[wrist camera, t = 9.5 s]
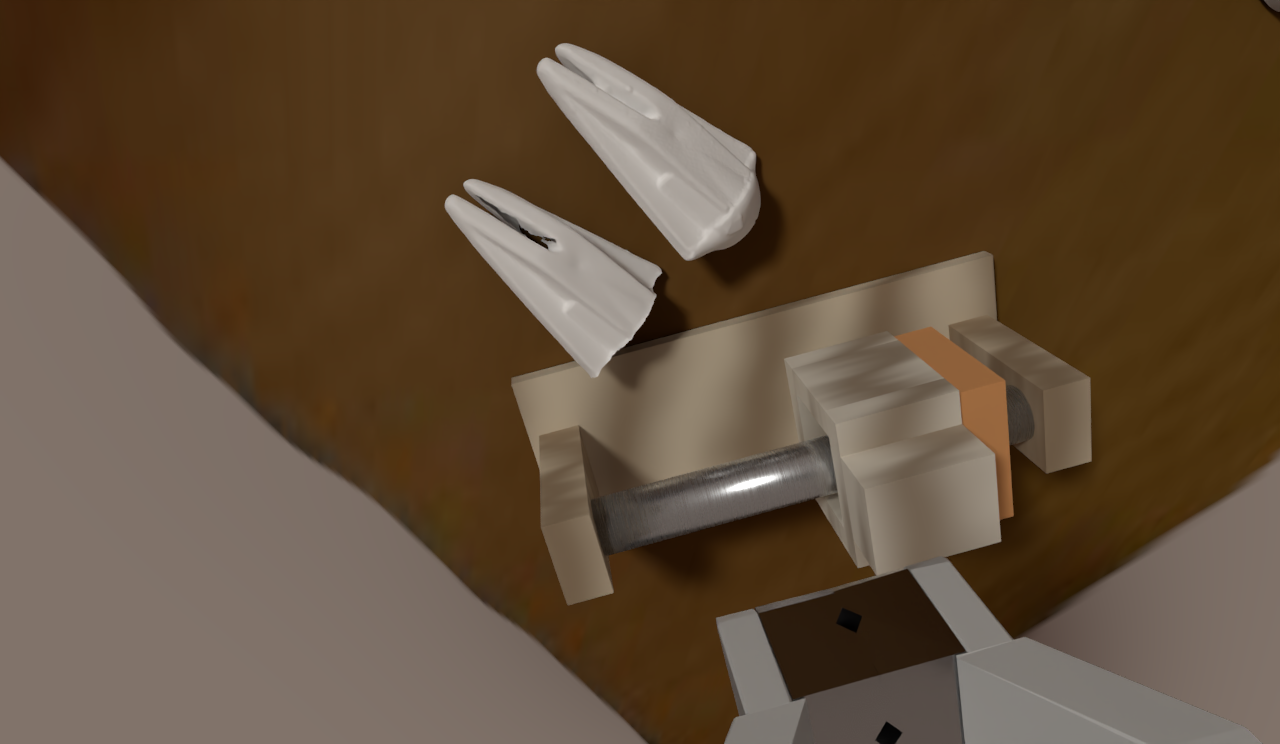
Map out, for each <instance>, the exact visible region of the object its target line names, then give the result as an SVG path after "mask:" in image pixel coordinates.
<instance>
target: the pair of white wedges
mask: <svg viewBox="0 0 1280 744" xmlns="http://www.w3.org/2000/svg"><path fill="white" fill-rule="evenodd" d="M555 53H556V55H557V57H558V59H559V60H560V62H561V63H562V64H563V65H564V66H565V67H564V66H562V65H561V64H559V63H557V62H555V61H553V60H552V59H550V58H544V59H542V60H541V61H540V62H539V64H538V66H537V74H538V77H539V78H540V80H541V82H542V83H543V85H544V87H545V88H546V90H547V92H548V93H549V95H550V96H551V97H552V98H553V100H554V101H555V102H556V104H557V105H558V106H559V108H560V109H561V110H562V112H563V113H564V114H565V116H566V117H567V118H568V119H569V120H570V122H571V123H572V124H573V125H574V127H575V128H576V129H577V131H578V132H579V133H580V134H581V135H582V136H583V138H584V139H585V140H586V141H587V142H588V144H589V145H590V146H591V147H592V148H593V150H594V151H595V152H596V153H597V155H598V156H599V157H600V158H601V160H602V161H603V162H604V163H605V165H606V166H607V167H608V168H609V170H610V171H611V172H612V173H613V174H614V176H615V177H616V178H617V179H618V181H619V182H620V183H621V184H622V186H623V187H624V188H625V189H626V190H627V192H628V193H629V194H630V195H631V197H632V198H633V199H634V200H635V201H636V203H637V204H638V205H639V206H640V208H641V209H642V210H643V211H644V212H645V213H646V215H647V216H648V217H649V218H650V219H651V221H652V222H653V223H654V224H655V225H656V226H657V228H658V229H659V230H660V231H661V233H662V234H663V235H664V236H665V237H666V238H667V240H668V241H669V242H670V243H671V245H672V246H673V247H674V248H675V249H676V250H677V252H678V253H679V254H680V255H681V256H682V257H683V258H684V259H685V260H688V261H691V260H695V259H697V258H699V257H701V256H703V255H705V254H708V253H710V252H712V251H715V250H722V249H726V248H729V247H731V246H733V245H735V244H736V243H738V242H739V241H740V240H741V239H742V238H744V237H745V236H746V235H747V234H748V232H749V231H750V230H751V228H752V227H753V225H754V224H755V220H756V219H757V218H758V215H759V211H760V207H761V197H760V189H759V184H758V181H757V178H756V173H755V166H756V153H755V152H754V151H753V150H752V149H751V148H750V147H749V146H747V145H746V144H744V143H742V142H740V141H738V140H736V139H734V138H733V137H731V136H729V135H728V134H726V133H724V132H723V131H721V130H720V129H718V128H716V127H714V126H713V125H711V124H709V123H708V122H706V121H705V120H703V119H702V118H700V117H698V116H697V115H695V114H693V113H692V112H690V111H688V110H686V109H685V108H683V107H682V106H680V105H678V104H677V103H676V102H675V101H674V100H672V99H671V98H669V97H668V96H667V95H665V94H664V93H663V92H661V91H659V90H658V89H657V88H655V87H653V86H652V85H650V84H648V83H647V82H645V81H644V80H642V79H640V78H639V77H637V76H635V75H634V74H632V73H631V72H629V71H627V70H625V69H624V68H622V67H620V66H618V65H617V64H615V63H613V62H611V61H609V60H608V59H606V58H604V57H602V56H600V55H598V54H596V53H593V52H591V51H588V50H585V49H583V48H581V47H578V46H575V45H572V44H568V43H563V44H560V45H558V46H557V47H556V48H555ZM463 185H464V188H465V190H466V191H467V192H468V194H469V195H470V196H471V197H473V198H474V199H475V200H476V201H477V202H479V203H480V204H481V205H482V206H484V207H485V208H486V209H487V210H488V211H490V212H491V213H492V214H493V215H495V216H496V217H497V218H498V219H500V220H501V221H502V222H501V221H500V220H498V219H496V218H495V217H493V216H492V215H490V214H488V213H487V212H485V211H483V210H481V209H480V208H478V207H476V206H475V205H473V204H471V203H469V202H468V201H466V200H464V199H462V198H460V197H458V196H456V195H453V194H452V195H450V196H449V197H448V198H447V199H446V202H445V209H446V211H447V212H448V214H449V215H450V216H451V218H452V219H453V221H454V222H455V224H456V225H457V226H458V228H459V229H460V230H461V231H462V232H463V233H464V234H465V236H466V237H467V238H468V240H469V241H470V242H471V244H472V245H473V246H474V247H475V248H476V250H477V251H478V252H479V253H480V254H481V256H482V257H483V258H484V259H485V260H486V261H487V262H488V264H489V265H490V266H491V267H492V268H493V269H494V270H495V271H496V273H497V274H498V275H499V276H500V277H501V278H502V279H503V281H504V282H505V283H506V284H507V285H508V286H509V287H510V289H511V290H512V291H513V292H514V293H515V294H516V295H517V297H518V298H519V299H520V300H521V301H522V302H523V303H524V305H525V306H526V307H527V308H528V309H529V310H530V311H531V312H532V313H533V315H534V316H535V317H536V318H537V319H538V320H539V321H540V322H541V323H542V324H543V326H544V327H545V328H546V329H547V330H548V331H549V332H550V333H551V334H552V335H553V337H554V338H555V339H556V340H557V341H558V342H559V343H560V344H561V345H562V346H563V347H564V348H565V350H566V351H567V352H568V353H569V354H570V355H571V356H572V357H573V358H574V360H575V361H576V362H577V363H578V364H579V365H580V366H581V367H582V368H583V369H584V370H585V371H586V372H587V373H588V374H589V375H590V377H591V378H592V377H593V378H596V377H598V375H599V373H600V371H601V369H602V368H603V367H604V366H605V364H607V363H608V362H609V361H610V359H611V357H612V355H614V354H615V353H616V351H617V350H620V348H622V347H624V346H625V345H626V344H627V343H628V342H629V341H630V340H632V338H633V336H634V334H635V332H637V330H638V329H639V328H640V327H641V325H642V324H643V323H644V322H645V320H646V317H647V316H648V315H649V312H650V311H651V307H652V305H653V304H654V300H655V298H656V294H655V293H654V291H653V286H654V284H655V281H656V279H657V277H658V276H660V275H661V274H662V272H661V269H660V267H658V266H657V265H656V264H653V263H651V262H649V261H647V260H644V259H642V258H640V257H639V256H636V255H634V254H632V253H630V252H629V251H628V250H624V249H622V248H620V247H619V246H617V245H614V244H613V243H611V242H609V241H607V240H605V239H603V238H601V237H599V236H597V235H595V234H593V233H591V232H589V231H587V230H585V229H583V228H581V227H579V226H577V225H574V224H572V223H570V222H568V221H566V220H564V219H562V218H560V217H558V216H556V215H554V214H552V213H550V212H548V211H546V210H543V209H541V208H539V207H537V206H535V205H533V204H531V203H530V202H528V201H526V200H524V199H523V198H521V197H519V196H517V195H515V194H513V193H511V192H509V191H507V190H505V189H503V188H500V187H497V186H495V185H492V184H489V183H486V182H483V181H480V180H476V179H469V180H467V181H465V182H464V184H463ZM504 223H505V224H504ZM519 225H520V226H521V228H524V230H527V231H528V232H529V233H530V234H531V235H535V236H541V237H542V238H543V239H545V238H544V237H547V238H550V239H551V240H552V241H548V242H547V241H546V240H545V241H544V240H543V239H542V240H541V241H542V242H544V243H545V244H547V245H548V249H546V248H544V247H542V246H541V245H539V244H537V243H535V242H534V241H532V240H530V239H529V238H527V237H526V235H525V234H522V233H521V231H520V228H519Z"/></svg>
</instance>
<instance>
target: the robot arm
mask: <svg viewBox="0 0 1280 744" xmlns="http://www.w3.org/2000/svg"><path fill="white" fill-rule="evenodd" d="M1264 1H1265V2H1266V3H1267V4H1268V6H1270V7H1271V8H1272V9H1273V10H1275V11H1278V12H1280V0H1264ZM716 622H717V628H718V632H719V636H720V640H721V644H722V648H723V652H724V656H725V661H726V665H727V669H728V673H729V677H730V681H731V685H732V689H733V693H734V696H735V700H736V704H737V708H738V712H739V716H740V717H736V718H734V720H733V722H732V725H731V727H730V730H729V732H728V735H727V737H726V740H725V742H724V744H1263V743H1262V742H1260V740H1258V739H1257V738H1256V737H1255V736H1254V735H1253V734H1252V733H1251V732H1250V731H1249V730H1248V729H1247V728H1246V727H1244V726H1242V725H1239V724H1237V723H1234V722H1232V721H1229V720H1227V719H1224V718H1222V717H1220V716H1217V715H1215V714H1212V713H1210V712H1208V711H1205V710H1203V709H1200V708H1198V707H1195V706H1193V705H1190V704H1188V703H1186V702H1183V701H1181V700H1178V699H1176V698H1173V697H1171V696H1168V695H1166V694H1164V693H1161V692H1159V691H1156V690H1154V689H1151V688H1149V687H1146V686H1144V685H1142V684H1139V683H1137V682H1134V681H1132V680H1130V679H1127V678H1125V677H1122V676H1120V675H1117V674H1115V673H1113V672H1110V671H1108V670H1105V669H1103V668H1100V667H1098V666H1095V665H1093V664H1091V663H1088V662H1086V661H1083V660H1081V659H1078V658H1076V657H1074V656H1071V655H1069V654H1066V653H1064V652H1061V651H1059V650H1056V649H1054V648H1052V647H1049V646H1047V645H1044V644H1042V643H1039V642H1037V641H1035V640H1032V639H1030V638H1027V637H1023V638H1019V639H1015V640H1013V638H1012V637H1011V636H1010V635H1009V633H1008V632H1007V631H1006V630H1005V628H1004V627H1003V626H1002V625H1001V624H1000V622H999V621H998V620H997V619H996V617H995V616H994V615H993V614H992V612H991V611H990V610H989V609H988V608H987V606H986V605H985V604H984V603H983V601H982V600H981V599H980V598H979V597H978V595H977V594H976V593H975V592H974V590H973V589H972V588H971V587H970V585H969V584H968V583H967V582H966V581H965V579H964V578H963V577H962V576H961V574H960V573H959V572H958V571H957V569H956V568H955V567H954V566H953V565H952V563H951V562H950V561H949V560H948V559H947V558H944V557H942V556H939V557H936V558H932V559H929V560H926V561H922V562H919V563H916V564H912V565H909V566H905V567H904V568H903V569H898V570H894V571H891V572H887V573H884V574H880V575H877V576H873V577H870V578H866V579H863V580H859V581H856V582H852V583H849V584H845V585H841V586H838V587H834V588H831V589H827V590H823V591H819V592H815V593H811V594H807V595H803V596H799V597H795V598H791V599H787V600H783V601H779V602H775V603H771V604H767V605H763V606H759V607H755V610H754V609H750V610H746V611H742V612H738V613H734V614H730V615H726V616H722V617H718V618H716Z"/></svg>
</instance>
